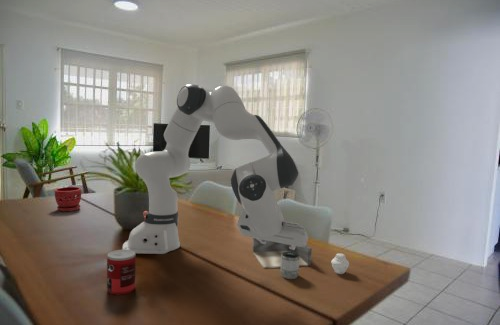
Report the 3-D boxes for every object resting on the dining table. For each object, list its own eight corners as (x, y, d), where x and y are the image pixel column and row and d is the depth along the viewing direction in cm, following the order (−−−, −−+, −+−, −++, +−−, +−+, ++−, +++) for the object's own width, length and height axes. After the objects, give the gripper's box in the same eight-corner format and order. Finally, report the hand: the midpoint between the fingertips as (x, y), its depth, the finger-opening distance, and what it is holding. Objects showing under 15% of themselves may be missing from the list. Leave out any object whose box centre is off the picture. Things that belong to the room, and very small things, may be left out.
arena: (263, 268, 124) (264, 250, 123) (252, 252, 139) (253, 236, 139) (310, 265, 128) (311, 248, 128) (294, 250, 144) (295, 235, 143)
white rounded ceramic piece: (329, 268, 127) (330, 249, 126) (346, 269, 127) (347, 250, 126) (332, 275, 121) (333, 256, 120) (350, 276, 121) (351, 257, 120)
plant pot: (65, 206, 202) (65, 185, 201) (86, 208, 200) (86, 187, 199) (49, 211, 189) (48, 189, 188) (71, 213, 187) (71, 191, 186)
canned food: (111, 283, 107) (111, 248, 106) (137, 283, 108) (138, 249, 107) (103, 295, 100) (103, 258, 99) (131, 295, 100) (132, 258, 99)
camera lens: (297, 280, 115) (299, 257, 115) (278, 278, 117) (280, 255, 116) (299, 273, 121) (300, 251, 121) (281, 270, 123) (282, 249, 122)
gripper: (306, 216, 94) (313, 241, 104) (239, 206, 103) (252, 230, 113) (300, 236, 91) (308, 260, 100) (231, 224, 99) (245, 247, 109)
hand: (278, 244), depth 107 cm, fingers open, 8 cm apart
